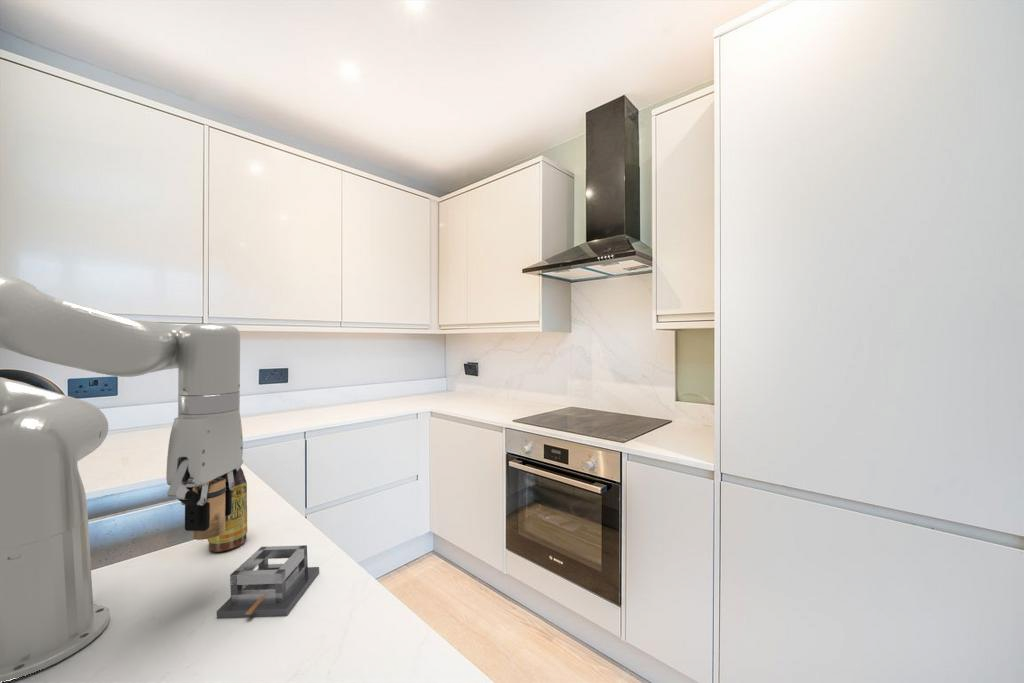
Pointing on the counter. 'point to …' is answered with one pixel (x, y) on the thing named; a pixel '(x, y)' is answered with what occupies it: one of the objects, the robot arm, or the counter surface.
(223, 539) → the sauce bottle
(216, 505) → the copper tube
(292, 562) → the collar stand
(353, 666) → the counter surface
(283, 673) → the counter surface
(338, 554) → the counter surface
